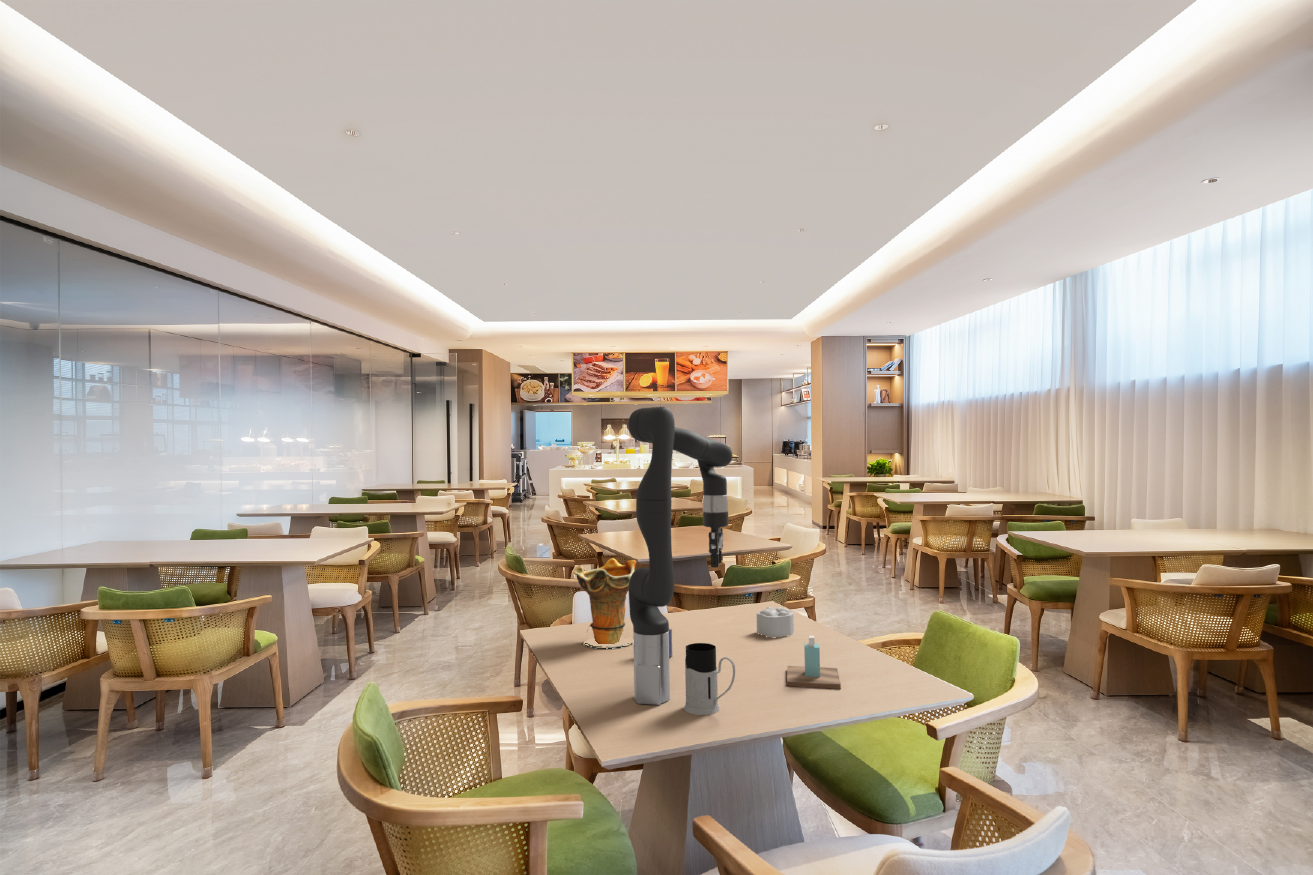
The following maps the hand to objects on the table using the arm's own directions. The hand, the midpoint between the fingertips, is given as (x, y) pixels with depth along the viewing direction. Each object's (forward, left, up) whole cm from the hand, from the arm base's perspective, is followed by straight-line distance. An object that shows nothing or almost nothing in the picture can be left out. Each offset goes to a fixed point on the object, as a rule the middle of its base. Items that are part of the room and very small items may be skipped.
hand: (716, 565), depth 195 cm
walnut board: (-6, -27, -30) cm, 41 cm away
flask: (+8, +20, -30) cm, 37 cm away
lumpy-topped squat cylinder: (+42, -16, -30) cm, 54 cm away
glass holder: (-34, -2, -30) cm, 46 cm away
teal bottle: (-6, -27, -29) cm, 40 cm away
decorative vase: (+22, +40, -30) cm, 55 cm away
